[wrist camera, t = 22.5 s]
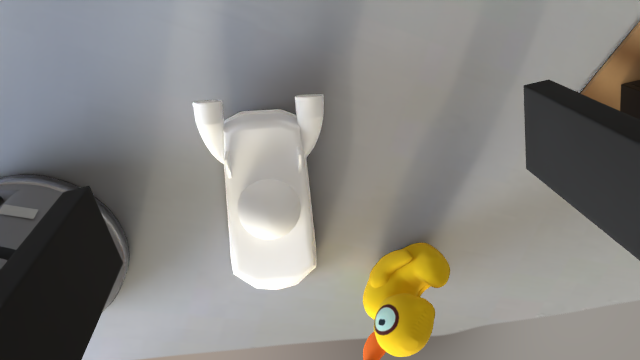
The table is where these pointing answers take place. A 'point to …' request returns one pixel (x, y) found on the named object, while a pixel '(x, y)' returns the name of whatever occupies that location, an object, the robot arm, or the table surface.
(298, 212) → the white piece
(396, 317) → the duckling
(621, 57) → the wooden board
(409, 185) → the table surface
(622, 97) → the desk bin
